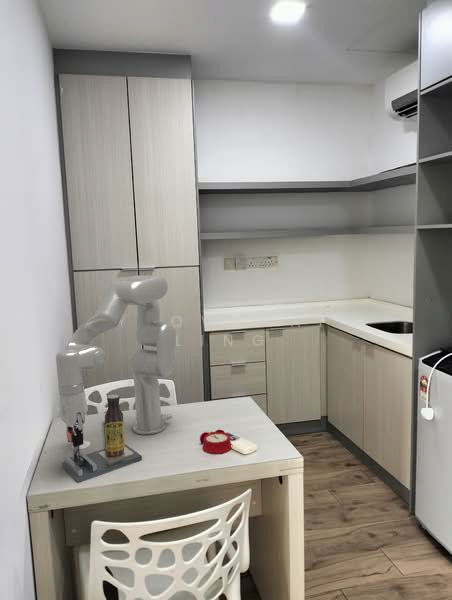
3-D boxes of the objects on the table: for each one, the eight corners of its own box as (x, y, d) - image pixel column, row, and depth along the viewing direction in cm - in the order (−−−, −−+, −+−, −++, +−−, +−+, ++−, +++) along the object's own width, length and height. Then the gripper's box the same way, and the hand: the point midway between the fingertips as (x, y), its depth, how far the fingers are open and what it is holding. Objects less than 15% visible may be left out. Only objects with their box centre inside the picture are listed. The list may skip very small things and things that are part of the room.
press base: (123, 446, 168) (121, 415, 167) (142, 460, 157) (139, 427, 156) (62, 466, 155) (59, 433, 153) (78, 482, 144) (75, 447, 142)
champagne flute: (89, 440, 175) (84, 377, 172) (91, 447, 169) (86, 382, 166) (70, 443, 173) (65, 380, 170) (72, 450, 167) (66, 385, 164)
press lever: (80, 458, 156) (77, 426, 155) (86, 463, 152) (83, 430, 151) (68, 462, 154) (65, 429, 152) (74, 467, 150) (71, 434, 149)
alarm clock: (208, 448, 156) (195, 423, 170) (207, 463, 159) (195, 437, 172) (237, 442, 160) (222, 418, 173) (236, 457, 162) (222, 432, 175)
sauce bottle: (106, 458, 155) (101, 400, 153) (105, 450, 161) (101, 394, 159) (126, 455, 157) (122, 398, 154) (125, 447, 163) (121, 392, 160)
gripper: (50, 385, 154) (55, 438, 157) (68, 397, 141) (73, 455, 143) (73, 380, 159) (77, 432, 161) (92, 392, 146) (97, 448, 148)
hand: (75, 442), depth 152 cm, fingers closed on press lever, 4 cm apart
